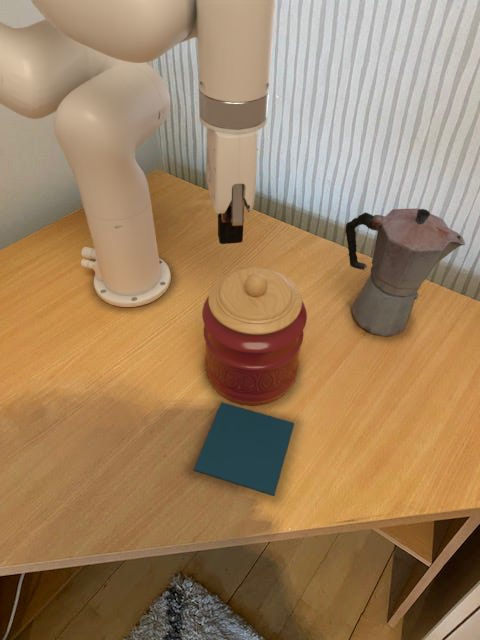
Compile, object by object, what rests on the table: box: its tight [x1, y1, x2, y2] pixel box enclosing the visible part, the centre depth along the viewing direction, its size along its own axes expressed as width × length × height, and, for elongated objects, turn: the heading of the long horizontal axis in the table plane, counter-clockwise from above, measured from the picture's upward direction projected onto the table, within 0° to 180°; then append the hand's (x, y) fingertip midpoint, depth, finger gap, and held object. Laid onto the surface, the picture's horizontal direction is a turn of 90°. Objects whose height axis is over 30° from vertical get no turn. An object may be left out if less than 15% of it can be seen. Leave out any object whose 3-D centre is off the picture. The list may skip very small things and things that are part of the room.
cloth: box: [193, 401, 295, 497], centre depth 59 cm, size 10×10×1 cm
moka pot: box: [345, 208, 466, 337], centre depth 68 cm, size 10×15×20 cm, turn 78°
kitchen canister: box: [201, 267, 308, 406], centre depth 61 cm, size 13×13×18 cm
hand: (230, 239), depth 65 cm, fingers closed
